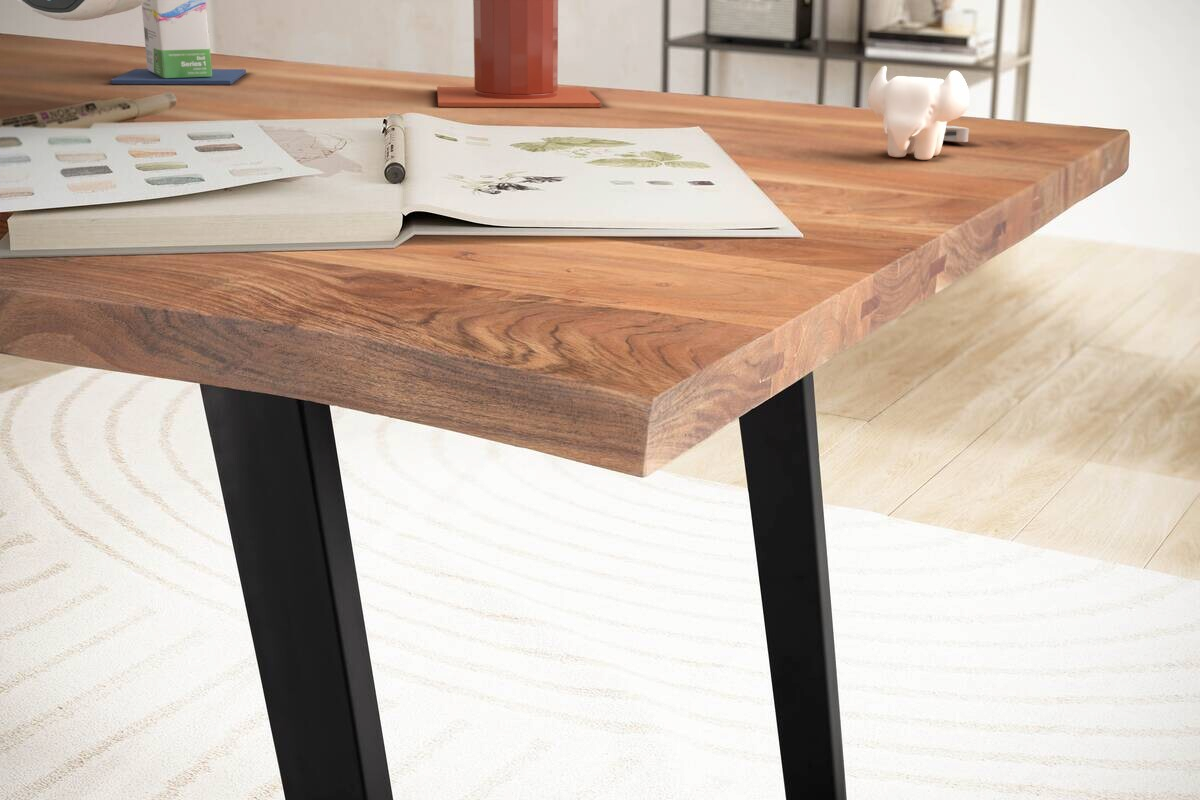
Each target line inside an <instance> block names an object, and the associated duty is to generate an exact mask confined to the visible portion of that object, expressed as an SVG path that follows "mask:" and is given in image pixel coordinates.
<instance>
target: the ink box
mask: <svg viewBox="0 0 1200 800" xmlns="http://www.w3.org/2000/svg"><path fill="white" fill-rule="evenodd" d="M206 1H207V0H147V1H146V2H145V3H143V4H142V5H141V12H142V13H141V14H142V23H143V24H142V25H143V35H144V45H145V46H144V47H145V56H146V57H145V59H146V69H148V70H149V71H151V72H153V73H155V74H156V75H158V76H160V77H162V78H187V77H212V69H213V68H212V57H211V55H212V54H211V43H210V35H209V22H208V11H207V2H206Z"/></svg>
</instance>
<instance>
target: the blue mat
mask: <svg viewBox="0 0 1200 800" xmlns="http://www.w3.org/2000/svg"><path fill="white" fill-rule="evenodd" d="M246 74H247V69H246V68H245V69H243V68H241V69H240V68H239V69H238V68H235V69H233V68H222V69H221V68H212V77H187V78H162V77H160V76H158V75H156V74H155V73H153V72H151V71H149V70H148V68H134V69H132V70H130V71H127V72H125V73H123V74H121V75H118V76H116V77H114V78H111V79H110V85H181V86H182V85H183V86H184V85H193V86H194V85H196V86H199V85H202V86H204V85H205V86H206V85H207V86H208V85H211V86H213V85H214V86H215V85H216V86H217V85H218V86H219V85H221V86H230V85H232V84H233V83H235V82H236V81H238V80H239V79H240V78H242V77H244V75H246Z"/></svg>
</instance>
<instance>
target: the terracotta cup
mask: <svg viewBox="0 0 1200 800" xmlns="http://www.w3.org/2000/svg"><path fill="white" fill-rule="evenodd" d="M472 8H473V9H472V24H473V25H472V26H473V27H472V28H473V30H472V32H473V35H472V36H473V87H474V89H475V95H477V96H480V97H487V98H497V99H541V98H550V97H555V96H557V90H558V87H559V86H558V85H559V84H558V82H559V80H558V75H559V74H558V73H559V72H558V71H559V70H558V66H559V63H558V62H559V0H472Z"/></svg>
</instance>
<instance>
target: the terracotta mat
mask: <svg viewBox="0 0 1200 800" xmlns="http://www.w3.org/2000/svg"><path fill="white" fill-rule="evenodd" d="M436 92H437V93H436V94H437V96H436V97H437V107H438V108H602V101H600V100H599V99H598V98H597V97H596V96H595V95H593V93H592V92H591V91H590V90H589V89H587V88H586V87H575V86H574V87H573V86H572V87H570V86H569V87H564V86H562V87H560V86H558V90H557V96H555V97H550V98H541V99H497V98H487V97H480V96H477V95H475V89H474V86H436Z"/></svg>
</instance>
